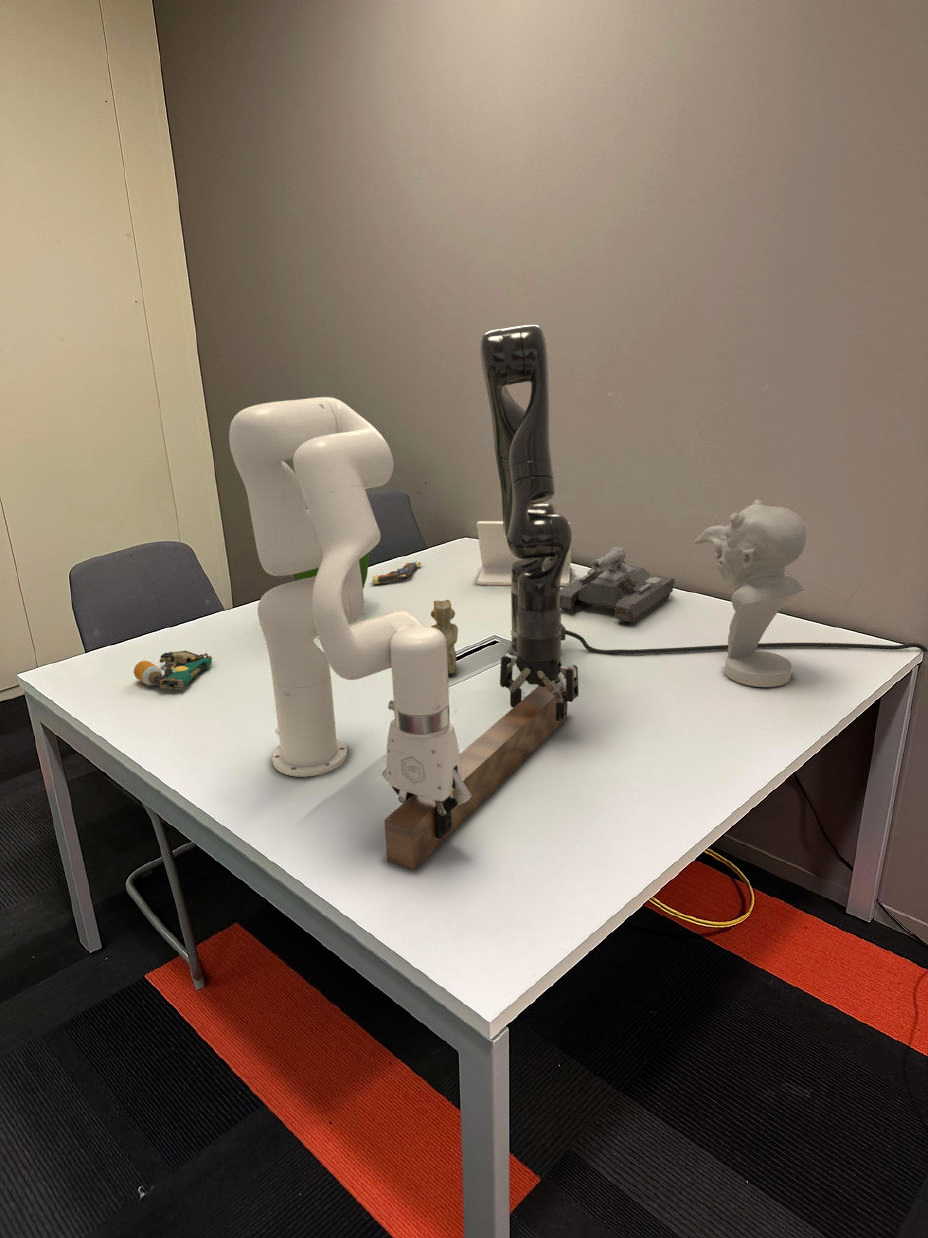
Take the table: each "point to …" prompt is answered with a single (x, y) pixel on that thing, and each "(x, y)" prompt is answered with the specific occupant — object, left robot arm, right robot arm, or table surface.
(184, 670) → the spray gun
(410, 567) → the toy gun
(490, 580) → the tablet stand
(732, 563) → the bust sculpture
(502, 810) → the table surface
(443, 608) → the sculpture
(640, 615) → the toy
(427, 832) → the bar
